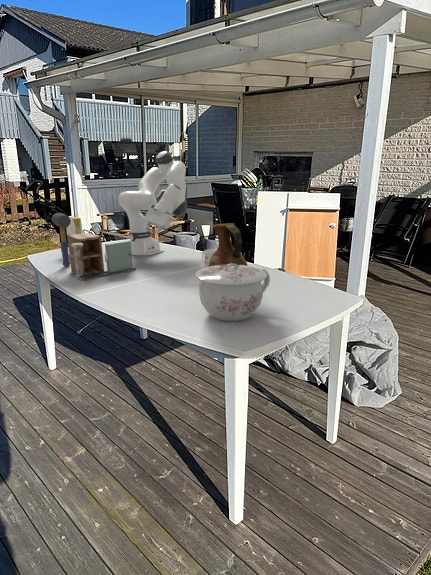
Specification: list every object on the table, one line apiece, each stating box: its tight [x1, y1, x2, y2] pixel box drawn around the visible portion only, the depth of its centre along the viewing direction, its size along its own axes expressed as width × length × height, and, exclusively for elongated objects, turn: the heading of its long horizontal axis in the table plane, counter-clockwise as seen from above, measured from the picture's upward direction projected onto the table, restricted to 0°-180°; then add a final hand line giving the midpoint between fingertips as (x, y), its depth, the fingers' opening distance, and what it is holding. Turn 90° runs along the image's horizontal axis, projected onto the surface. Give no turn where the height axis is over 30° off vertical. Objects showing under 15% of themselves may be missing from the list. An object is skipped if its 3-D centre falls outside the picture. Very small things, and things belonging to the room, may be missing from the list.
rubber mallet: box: [51, 212, 71, 268], centre depth 223 cm, size 12×8×30 cm, turn 37°
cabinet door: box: [103, 239, 134, 273], centre depth 215 cm, size 15×4×16 cm, turn 133°
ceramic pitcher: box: [208, 222, 249, 267], centre depth 189 cm, size 20×20×30 cm
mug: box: [201, 248, 218, 268], centre depth 218 cm, size 12×9×11 cm
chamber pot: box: [194, 263, 271, 322], centre depth 154 cm, size 28×28×21 cm
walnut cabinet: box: [66, 232, 105, 282], centre depth 210 cm, size 16×18×20 cm
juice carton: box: [65, 215, 84, 236], centre depth 256 cm, size 9×8×24 cm
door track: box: [80, 266, 137, 282], centre depth 213 cm, size 30×5×1 cm, turn 133°
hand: (150, 231), depth 223 cm, fingers open, 8 cm apart
